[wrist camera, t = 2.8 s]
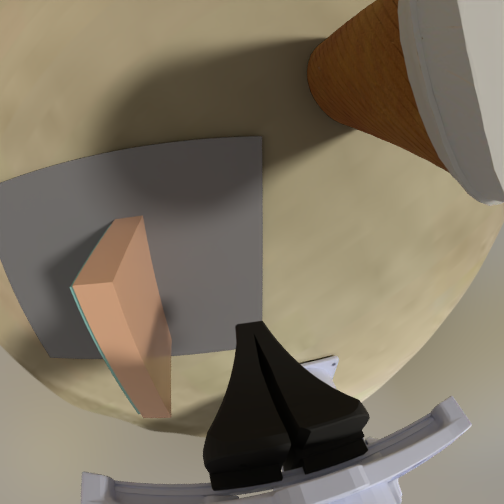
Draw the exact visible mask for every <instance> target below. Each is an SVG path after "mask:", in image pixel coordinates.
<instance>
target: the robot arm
mask: <svg viewBox="0 0 504 504" xmlns="http://www.w3.org/2000/svg"><path fill="white" fill-rule="evenodd" d="M235 331H236V352H235V359H234V364H233V369H232V373H231V377H230V381H229V384H228V388H227V391H226V393H225V396H224V399H223V402H222V404H221V406H220V409H219V411H218V413H217V415H216V417H215V419H214V421H213V423H212V425H211V427H210V429H209V430H208V432H207V437H206V440H205V444H204V449H203V459H204V465H205V467H206V469H207V470H208V472H209V474H210V480H211V483H199V484H148V483H134V482H123V481H115V480H113V479H112V478H110V477H108V476H105V475H100V474H94V473H89V472H82V483H81V504H401V502H402V499H401V496H402V492H401V489H400V486H399V483H398V478H399V477H401V476H403V475H404V474H406V473H408V472H409V471H411V470H413V469H414V468H416V467H418V466H419V465H421V464H422V463H424V462H426V461H427V460H429V459H430V458H432V457H433V456H435V455H436V454H438V453H439V452H440V451H442V450H443V449H445V448H446V447H447V446H449V445H450V444H451V443H453V442H454V441H455V440H456V439H457V438H458V437H460V436H461V435H462V434H463V433H464V432H465V431H467V430H468V429H469V428H470V427H471V426H472V424H471V422H470V421H469V419H468V418H467V416H466V415H465V413H464V412H463V410H462V409H461V408H460V406H459V405H458V403H457V402H456V400H455V399H454V397H453V396H450V397H448V398H447V399H445V400H444V401H442V402H441V403H439V404H438V405H437V406H436V407H434V409H433V410H432V411H431V413H429V414H427V415H426V416H424V417H422V418H421V419H419V420H417V421H415V422H413V423H412V424H410V425H408V426H406V427H404V428H402V429H400V430H398V431H396V432H394V433H392V434H390V435H388V436H386V437H384V438H382V439H376V438H372V437H368V438H366V439H365V440H364V439H363V437H364V434H363V432H362V429H363V427H364V426H365V425H366V424H367V422H368V420H369V414H368V412H367V411H366V409H365V408H364V406H363V405H362V403H361V402H360V401H359V400H358V399H355V398H353V397H351V396H348V395H346V394H344V393H342V392H340V391H338V390H337V388H336V386H335V384H334V382H333V380H332V379H333V376H334V373H335V370H336V367H337V364H338V361H339V358H338V357H337V356H332V357H328V358H324V359H320V360H316V361H312V362H308V363H303V364H299V363H298V362H297V361H296V360H295V359H294V358H293V357H292V356H291V355H290V354H289V353H288V352H287V351H286V350H285V349H284V348H283V347H282V345H281V344H280V343H279V342H278V341H277V340H276V338H275V337H274V336H273V335H272V333H271V332H270V331H269V329H268V328H267V326H266V325H265V323H264V322H263V321H256V322H249V323H242V324H237V325H236V326H235ZM281 469H282V472H281ZM270 489H273V491H272V492H268V493H264V494H260V495H255V496H250V497H245V498H240V499H239V497H238V496H232V495H240V494H247V493H253V492H259V491H265V490H270Z"/></svg>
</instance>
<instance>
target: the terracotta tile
mask: <svg viewBox="0 0 504 504" xmlns="http://www.w3.org/2000/svg"><path fill="white" fill-rule="evenodd" d="M70 290H71V292H72V295H73V297H74V299H75V302H76V304H77V306H78V309H79V311H80V313H81V315H82V318H83V320H84V322H85V324H86V326H87V328H88V330H89V332H90V334H91V336H92V338H93V340H94V342H95V344H96V346H97V348H98V350H99V352H100V354H101V355H102V357H103V359H104V361H105V363H106V364H107V366H108V368H109V369H110V371H111V373H112V375H113V376H114V378H115V379H116V381H117V383H118V384H119V386H120V388H121V389H122V391H123V392H124V394H125V395H126V397H127V398H128V400H129V401H130V403H131V404H132V406H133V407H134V409H135V410H136V411H137V413H138V414H141V415H142V416H143V418H170V417H171V344H172V339H171V335H170V332H169V328H168V325H167V321H166V318H165V314H164V310H163V306H162V303H161V299H160V295H159V291H158V287H157V283H156V278H155V274H154V269H153V265H152V260H151V256H150V251H149V246H148V241H147V235H146V230H145V224H144V219H143V216H135V217H128V218H121V219H115V220H114V221H113V223H112V224H110V226H109V227H108V228H107V230H106V231H105V233H104V234H103V236H102V237H101V238H100V240H99V241H98V243H97V244H96V246H95V247H94V249H93V250H92V252H91V253H90V255H89V257H88V258H87V260H86V261H85V263H84V264H83V266H82V268H81V269H80V271H79V273H78V274H77V276H76V278H75V279H74V281H73V283H72V284H71V286H70Z"/></svg>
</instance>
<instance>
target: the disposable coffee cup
mask: <svg viewBox="0 0 504 504" xmlns="http://www.w3.org/2000/svg"><path fill="white" fill-rule="evenodd" d="M307 77H308V84H309V87H310V91H311V93H312V95H313V97H314V99H315V101H316V102H317V104H318V105H319V106H320V108H321V109H322V110H323V111H324V112H325V113H326V114H327V115H328V116H329V117H331V118H332V119H333V120H335V121H337V122H339V123H341V124H344V125H347V126H350V127H352V128H355V129H357V130H360V131H363V132H365V133H368V134H371V135H373V136H375V137H378V138H380V139H382V140H385V141H387V142H390V143H392V144H394V145H397V146H399V147H401V148H403V149H405V150H407V151H409V152H411V153H413V154H415V155H417V156H419V157H421V158H424V159H426V160H428V161H430V162H431V163H433V164H435V165H436V166H438V167H440V168H442V169H444V170H446V171H447V172H449V173H450V174H451V175H452V176H453V177H454V178H455V179H456V180H457V181H458V182H459V184H460V185H461V186H462V187H463V188H464V190H465V191H466V192H467V193H468V194H469V195H470V196H472V197H473V198H474V199H476V200H477V201H478V202H481V203H484V204H486V205H489V206H491V205H497V204H501V203H503V202H504V0H376V1H375V2H373V3H372V4H370V5H369V6H367V7H366V8H365V9H363V10H362V11H360V12H359V13H358V14H357V15H356V16H354V17H353V18H351V19H350V20H349V21H347V22H346V23H345V24H344V25H342V26H341V27H340V28H339V29H338V30H336V31H335V32H334V33H333V34H332V35H330V36H329V37H328V38H327V39H326V40H324V41H323V42H322V43H320V44H319V45H318V46H317V47H316V48H315V49H314V51H313V53H312V54H311V56H310V59H309V62H308V68H307Z"/></svg>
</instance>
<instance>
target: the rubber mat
mask: <svg viewBox="0 0 504 504" xmlns="http://www.w3.org/2000/svg"><path fill="white" fill-rule="evenodd" d="M135 216H143V219H144V224H145V230H146V235H147V241H148V246H149V251H150V256H151V260H152V265H153V269H154V274H155V278H156V283H157V287H158V291H159V295H160V299H161V303H162V306H163V310H164V314H165V318H166V321H167V325H168V328H169V332H170V335H171V339H172V344H171V356H179V355H190V354H200V353H209V352H218V351H226V350H234V349H236V331H235V326H236V325H237V324H242V323H249V322H256V321H262V262H263V216H262V136H243V137H223V138H208V139H196V140H186V141H177V142H169V143H161V144H153V145H147V146H140V147H134V148H128V149H122V150H117V151H112V152H107V153H102V154H97V155H93V156H88V157H84V158H80V159H76V160H72V161H68V162H64V163H60V164H57V165H53V166H49V167H46V168H43V169H39V170H36V171H33V172H30V173H27V174H24V175H21V176H18V177H15V178H12V179H9V180H7V181H4V182H1V183H0V259H1V262H2V264H3V267H4V270H5V272H6V275H7V277H8V279H9V282H10V284H11V286H12V289H13V291H14V293H15V295H16V297H17V299H18V301H19V303H20V305H21V307H22V309H23V311H24V313H25V315H26V317H27V319H28V321H29V323H30V325H31V326H32V328H33V330H34V332H35V333H36V335H37V337H38V338H39V340H40V342H41V343H42V345H43V347H44V348H45V350H46V351H47V353H48V355H49V356H50V357H52V358H75V359H103V357H102V355H101V354H100V352H99V350H98V348H97V346H96V344H95V342H94V340H93V338H92V336H91V334H90V332H89V330H88V328H87V326H86V324H85V322H84V320H83V318H82V315H81V313H80V311H79V309H78V306H77V304H76V302H75V299H74V297H73V295H72V292H71V290H70V286H71V284H72V283H73V281H74V279H75V278H76V276H77V274H78V273H79V271H80V269H81V268H82V266H83V264H84V263H85V261H86V260H87V258H88V257H89V255H90V253H91V252H92V250H93V249H94V247H95V246H96V244H97V243H98V241H99V240H100V238H101V237H102V236H103V234H104V233H105V231H106V230H107V228H108V227H109V226H110V224H112V223H113V221H114V220H115V219H121V218H128V217H135Z"/></svg>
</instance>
